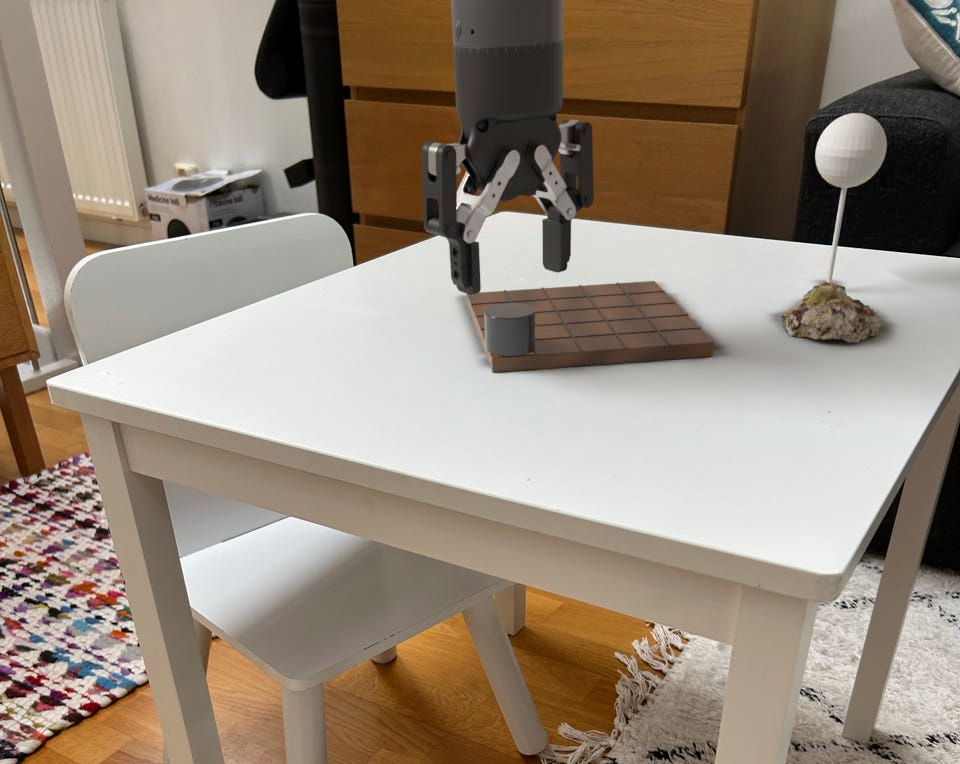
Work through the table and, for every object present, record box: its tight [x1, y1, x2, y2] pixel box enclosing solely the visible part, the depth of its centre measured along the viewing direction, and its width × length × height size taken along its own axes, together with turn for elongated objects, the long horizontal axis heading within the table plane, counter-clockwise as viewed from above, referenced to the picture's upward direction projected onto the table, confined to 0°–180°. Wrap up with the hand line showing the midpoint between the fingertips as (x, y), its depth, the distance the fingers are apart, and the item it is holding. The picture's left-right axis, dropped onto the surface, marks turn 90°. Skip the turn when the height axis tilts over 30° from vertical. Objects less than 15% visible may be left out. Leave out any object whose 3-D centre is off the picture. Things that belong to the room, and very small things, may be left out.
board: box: [466, 280, 714, 373], centre depth 86 cm, size 18×18×1 cm
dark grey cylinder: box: [484, 303, 535, 356], centre depth 79 cm, size 4×4×3 cm
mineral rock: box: [781, 281, 884, 344], centre depth 85 cm, size 11×4×8 cm
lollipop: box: [814, 112, 888, 284], centre depth 89 cm, size 6×6×15 cm
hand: (513, 280), depth 77 cm, fingers open, 8 cm apart
